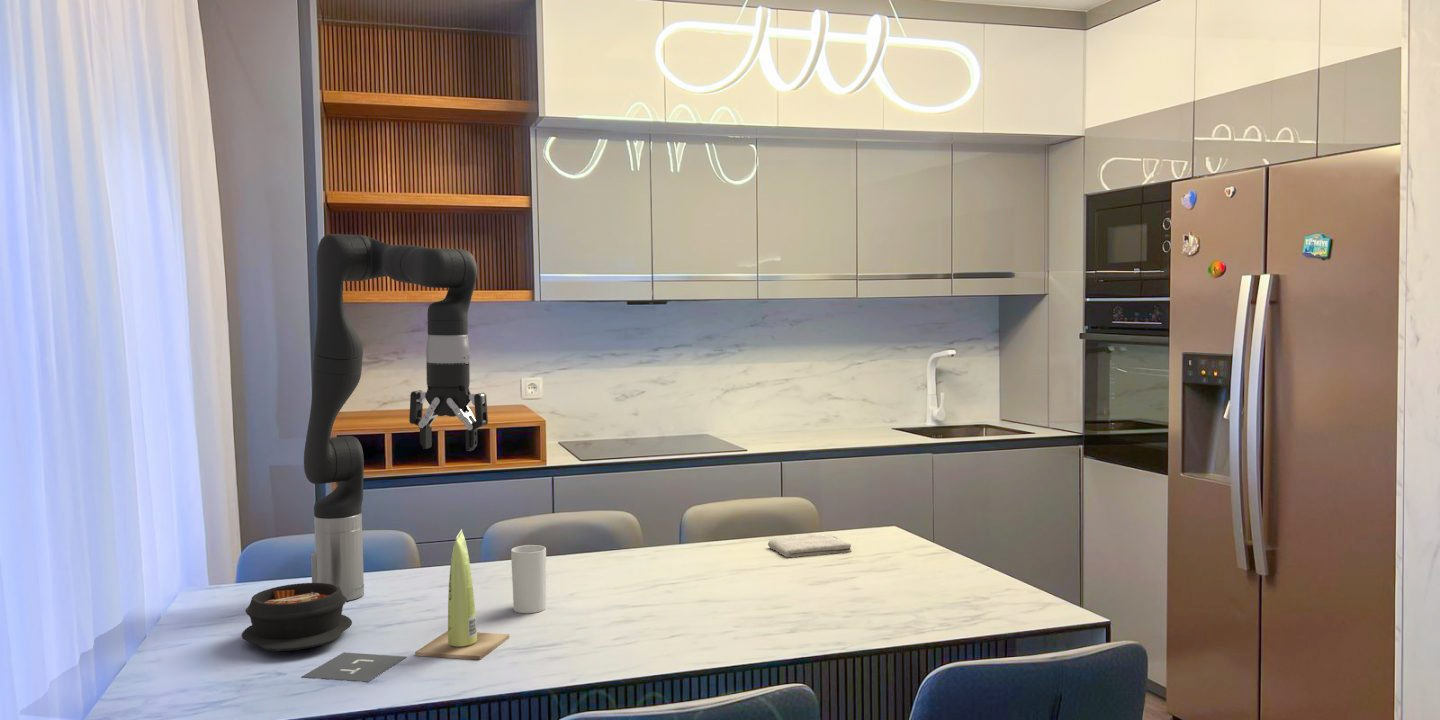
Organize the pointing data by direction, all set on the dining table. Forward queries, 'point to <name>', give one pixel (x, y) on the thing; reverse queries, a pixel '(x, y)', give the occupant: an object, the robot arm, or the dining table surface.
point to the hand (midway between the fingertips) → (448, 449)
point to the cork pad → (474, 651)
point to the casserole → (296, 616)
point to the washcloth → (809, 545)
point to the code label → (355, 667)
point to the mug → (529, 578)
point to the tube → (461, 597)
